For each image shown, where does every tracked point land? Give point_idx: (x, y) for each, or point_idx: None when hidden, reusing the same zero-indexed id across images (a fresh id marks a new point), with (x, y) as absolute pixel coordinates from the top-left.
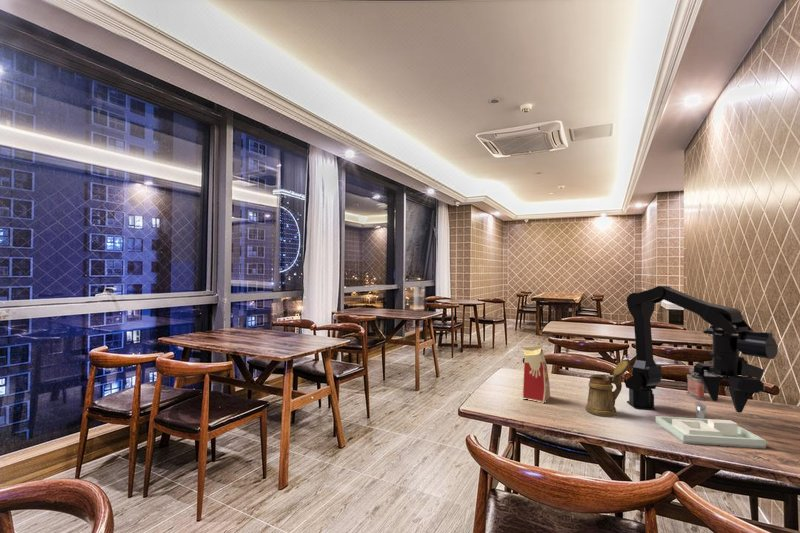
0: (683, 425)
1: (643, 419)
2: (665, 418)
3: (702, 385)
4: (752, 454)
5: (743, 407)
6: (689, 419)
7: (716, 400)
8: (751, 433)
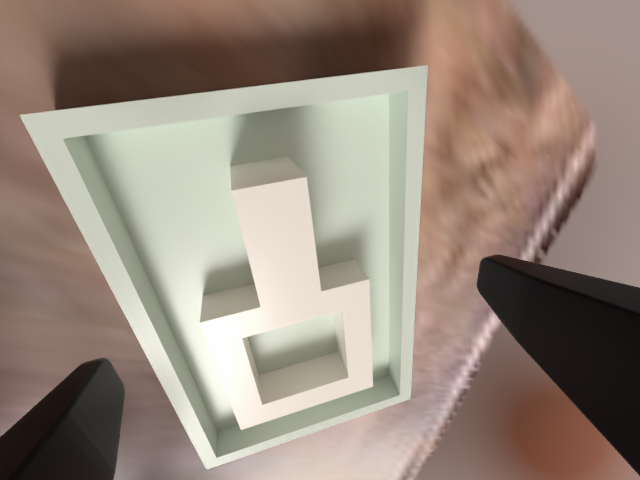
0: (322, 398)
1: (176, 465)
2: (210, 437)
3: None
4: (462, 185)
5: (566, 276)
6: (171, 358)
7: (105, 366)
8: (325, 90)
